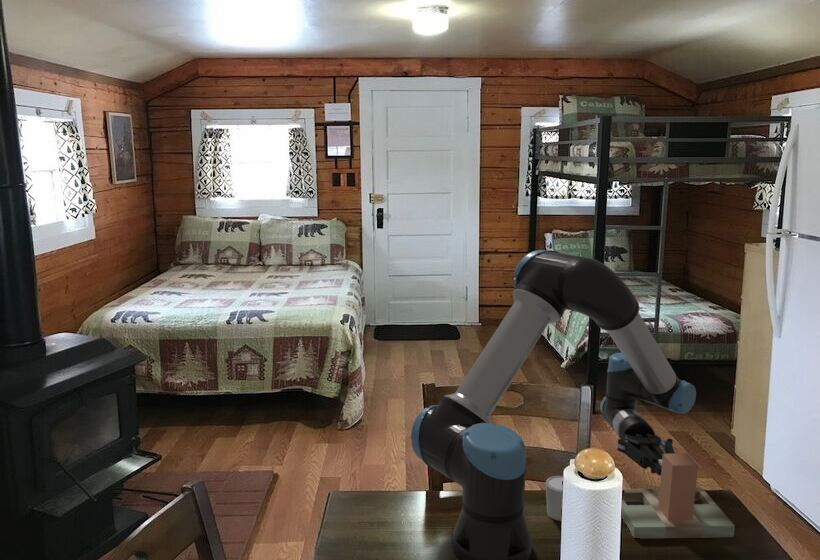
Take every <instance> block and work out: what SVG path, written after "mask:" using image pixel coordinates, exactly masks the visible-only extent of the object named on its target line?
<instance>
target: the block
mask: <svg viewBox="0 0 820 560" xmlns="http://www.w3.org/2000/svg"><path fill="white" fill-rule="evenodd" d="M698 467H699V465H698V463H697V462H695V460H694V459H693V458H692V457H691V456H690V454H689V453H687V452H686V453H675V454H663V458H662V469H661V475H660V483H659V484H660V485H659V489H660V492H659V503H658V507H659V509H660V510H661V512H662V513H663V514H664V516H665V517H666V519H667V520H693V510H694V500H695V490H696V488H697V487H696V486H697V478H698Z"/></svg>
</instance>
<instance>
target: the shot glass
mask: <svg viewBox="0 0 820 560" xmlns="http://www.w3.org/2000/svg"><path fill="white" fill-rule="evenodd" d="M562 481H563V475H553V476H550V477H548V478H547V479H546V481H545V499H546V514H547V515H548V516H549V517H550V519H553V520H555V521H559V522H562V521H561V509H562Z"/></svg>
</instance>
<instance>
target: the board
mask: <svg viewBox="0 0 820 560" xmlns="http://www.w3.org/2000/svg"><path fill="white" fill-rule="evenodd" d="M622 489H623V490H624V491H625V493H624V496H623V500H622V518H621V520H622V519H623V520H622V522H623V523H624V522H625V523H624V525H625V524H626V525H627V527H628V528H629V530H630V532H631V533H630V532H629V533H630V535H631V534H632V535H631V537H632V536H633V537H634V538H640V539H686V538H687V539H689V538H690V539H695V538H700V539H701V538H705V539H706V538H734V535H735V526H736V525H735V524H734V523H733V521H731V519H730V518H729V517H728V516H727V515H726V513H725V512H723V510H722V509H721V507H720V506H718V504H717V503H716V502H715V501H714V500H713V499H712V497H711V496H710V495H709V494H708V493H707V492H706V490H705V489H704V488H702V487H696V490H695V500H694V510H693V520H667V519H666V517H665V516H664V514H663V513H662V512H661V510H660V509H659V507H658V503H659V492H660V488H622ZM626 525H625V526H626ZM627 527H626V528H627ZM628 528H627V529H628ZM629 530H628V531H629ZM633 537H632V538H633ZM634 538H633V539H634Z"/></svg>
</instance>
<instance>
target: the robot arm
mask: <svg viewBox="0 0 820 560" xmlns="http://www.w3.org/2000/svg"><path fill="white" fill-rule="evenodd" d="M513 276H514V278H513V279H512V280H513V281H512V284H513V287H514V290H513V291H512V297H513V302H514V303H513V304H512V305H511V307H510V309H509V310H508V311H507V313H506V315H505V316H504V317H503V319H502V321H500V324H499V325H498V327H496V330H495V332H494V333H493V335H492V336H491V338H490V339H489V340H488V342H487V343H486V345H485V347H484V348H483V349H482V351H481V353H480V354H479V356H478V357H477V359H476V360H475V362H474V364H473V365H472V367H471V368H470V370H469V371H468V373H467V374H466V376H465V378H463V381H462V382H461V383H460V385H458V388H457V389H456V390H455V392H454V393H451V394H445V395H443V397H442V399H441V401H440V402H439V404H437V405H429V406H428V407H425V408H423V409H422V410H421V411H420V412H419V413H418V414H417V416H416V417H415V418H414V421H413V423H412V427H411V432H410V440H411V449H412V451H413V452H414V454H415V456H416V457H417V458H418V459H419V460H421V461H423V463H424V464H425V465H426V466H428V467H429V468H431V469H433V470H435V471H437V472H439V473H440V474H441V475H443V476H445V477H446V478H448V479H450V480H451V481H453V482H454V483H456V484H457V485H459V486H460V487H461V488H462V507H461V510H460V513H459V516H458V519H457V522H456V524H455V527H454V529H453V533H452V548H453V551H454V554H455V555H456V556H457V557H458V558H459V560H529V558H530V556H531V554H532V541H533V539H532V535H531V532H530V530H529V526H528V523H527V520H526V516H525V514H524V507H525V505H524V504H525V491H526V489H525V488H526V472H527V471H526V470H527V461H528V460H527V457H526V444H525V443H524V440H523V439H522V437H521V436H520V435H519V434H518V433H517V432H516V431H515V430H513V429H512V428H510V427H508V426H505V425H502V424H494V422H491V415H492V413H493V412H494V411H495V408H496V407H497V406H498V404H499V402H500V401H501V399H502V398H503V396H504V394H505V393H506V391H507V390H508V388H509V387H510V385H511V383H512V382H513V381H514V378H516V375H517V374H518V373H519V370H520V369H521V367H523V365H524V363H525V361H527V358H528V357H529V356H530V353H531V352H532V351H533V349H534V347H535V345H536V344H537V342H538V341H539V340H540V338H541V336H542V334H544V332H545V329H546V328H547V326H548V325H549V324H553V323H558V322H559V321H560V320H561V318H562V317H563V316H564V314H565V311H566V310H568V311H571V312H574V313H575V312H576V313H580V314H582V315H585V316H586V317H587V318H588V317H589V319H591V320H593V321H594V322H595V324H596V325H597V326H598V327H599V328H600V329H601V330H603V331H606V332H607V333H608V334H609V336H610V338H611V339H612V340H613V342H614V343H615V345H616V346H617V348H618V350H619V351H620V352H615V353H613V354H611V355H610V356H609V359H608V366H607V370H606V372H607V373H606V374H607V375H606V391H605V393H606V395H605V396H603V398H602V400H601V402H600V407H599V408H600V412H601V415H602V416H603V418H604V420H605V422H606V423H607V424H608V425H609V426H610V428H611V429H612V430H613V431H614V433H615V434H616V435H617V438H619V439H617V448H616V449H617V451H618V452H620V453H623V454H624V455H625V456H626V457H628V458H629V459H631V461H633V462H634V463H636V464H637V466H639V467H641V468H642V469H644V470H645V469H648V468H650V473H651V474H656V475H658V476H661V469H662V458H663V454H676V453H675V452H676V451H675V450H674V447H673V444H674V443H673V442H674V441H673V438H667V439H665V440H662V438H661V437H660V436H658V435H656V433H655V431H654V429H653V428H652V426H651V425H650V424H649V423H648V421H647V420H646V419H645V418H644V417H643V416H642V414H640V413H639V411H638V410H637V404H638V402H637V401H638V400H641V401H644V402H646V403H649V404H652V405H654V406H657V407H660V408H662V409H665V410H667V411H669V412H673V413H677V414H681V415H682V414H683V415H684V414H687V413H688V412H689V411H691V409H692V407H693V406H694V404H695V402H696V398H697V391H696V387H695V385H693V384H692V383H689V382H687V381H686V380H681V379H680V378H679V377H678V376H677V374H676V372H675V370H674V369H673V367H672V365H671V364H670V362H669V361H668V358H667V357H666V356H665V354H664V353H663V351H662V349H661V347H660V346H659V344H658V343H657V341H656V339H655V337H654V336H653V335H652V333H651V331H650V329H649V328H648V326H647V324H646V323H645V321H644V320H643V318H642V316H641V314H640V313H639V312H640V303H639V302H638V300H637V298H636V296H635V295H634V293H633V292H632V291H631V289H630V288H629V286H628V285H627V284H626V283H625V282H624V280H622V278H621V277H620V276H619V275H618V274H617V273H616V272H615V271H613V270H612V269H611V268H610V267H609V266H607V265H606V264H604V263H603V262H601V261H599V260H597V259H594V258H591V257H584V256H579V255H573V254H569V253H561V252H559V251H557V250H553V249H546V250H545V249H538V250H533V251H531V252H529V253H527V254H526V255H524V256H523V257H522V258H521V259H520V261H519V262H518V263H517V265H516V267H515V270H514V272H513ZM660 446H661V447H660ZM662 448H663V449H662Z"/></svg>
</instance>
